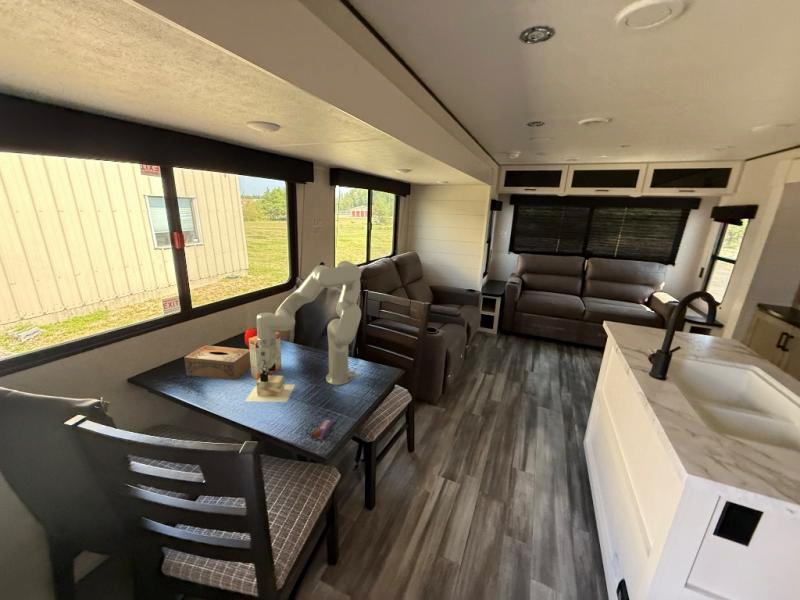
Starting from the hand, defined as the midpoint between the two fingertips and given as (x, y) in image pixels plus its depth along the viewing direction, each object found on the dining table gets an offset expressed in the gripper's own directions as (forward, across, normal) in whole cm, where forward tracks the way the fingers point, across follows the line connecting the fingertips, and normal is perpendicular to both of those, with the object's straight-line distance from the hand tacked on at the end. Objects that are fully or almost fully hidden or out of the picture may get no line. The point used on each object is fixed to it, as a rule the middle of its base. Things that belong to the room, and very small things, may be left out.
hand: (268, 376), depth 137 cm
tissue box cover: (+10, +20, +31) cm, 38 cm away
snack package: (+9, -24, -29) cm, 39 cm away
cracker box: (+9, +18, +7) cm, 22 cm away
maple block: (+9, 0, -1) cm, 9 cm away
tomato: (+9, +48, +24) cm, 55 cm away
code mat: (+9, 0, -1) cm, 9 cm away
